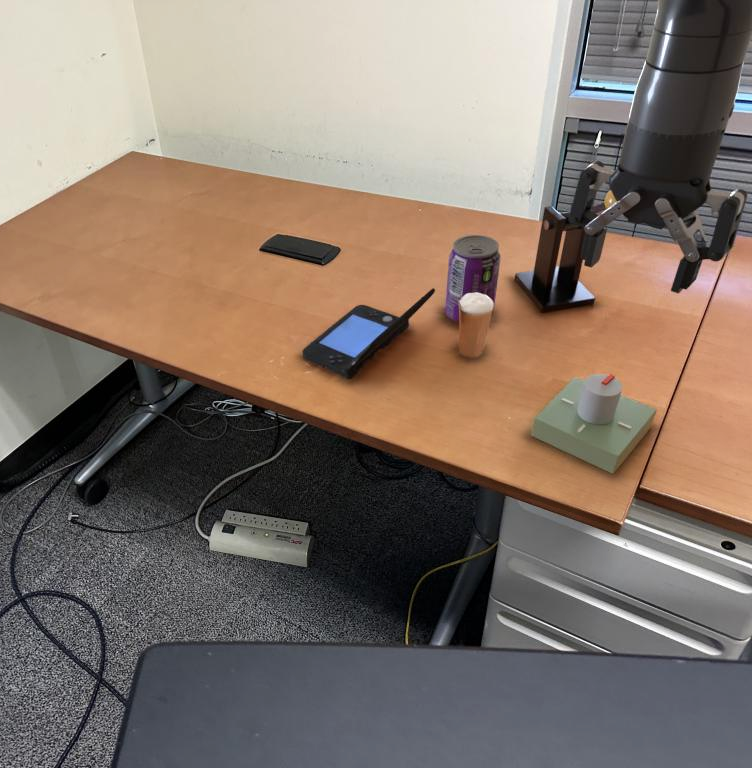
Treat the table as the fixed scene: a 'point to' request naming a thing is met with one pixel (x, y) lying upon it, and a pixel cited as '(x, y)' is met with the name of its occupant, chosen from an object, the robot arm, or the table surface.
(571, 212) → the robot arm
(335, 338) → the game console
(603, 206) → the latch lever
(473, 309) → the milkshake
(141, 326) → the table surface
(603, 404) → the lock knob
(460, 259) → the beverage can
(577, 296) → the latch bracket
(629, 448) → the green dial knob panel
